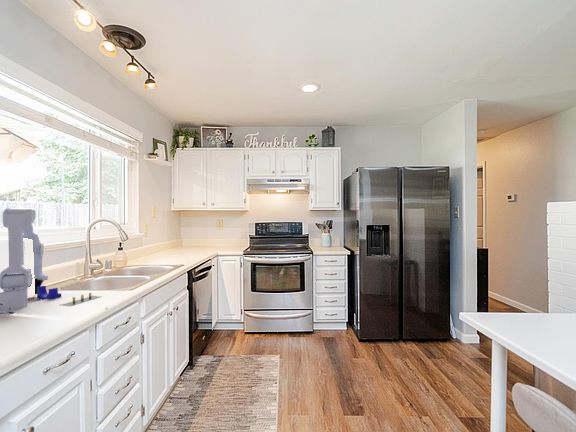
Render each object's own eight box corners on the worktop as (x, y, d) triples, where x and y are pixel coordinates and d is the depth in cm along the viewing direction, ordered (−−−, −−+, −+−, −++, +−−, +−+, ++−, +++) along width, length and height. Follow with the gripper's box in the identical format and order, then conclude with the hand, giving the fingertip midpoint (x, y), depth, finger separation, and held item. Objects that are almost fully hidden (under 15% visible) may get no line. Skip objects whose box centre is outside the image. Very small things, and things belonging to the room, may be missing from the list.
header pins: (73, 303, 136) (73, 297, 136) (72, 303, 136) (72, 297, 136) (91, 298, 144) (91, 292, 144) (90, 298, 144) (90, 292, 144)
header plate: (70, 308, 131) (70, 305, 131) (58, 307, 133) (58, 304, 133) (102, 299, 147) (102, 296, 147) (91, 298, 149) (91, 295, 149)
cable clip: (61, 299, 147) (61, 287, 147) (50, 302, 143) (50, 289, 143) (47, 297, 153) (47, 285, 153) (37, 299, 149) (36, 286, 149)
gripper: (53, 266, 154) (54, 293, 154) (32, 265, 158) (33, 291, 158) (39, 268, 147) (39, 296, 147) (17, 267, 151) (17, 294, 151)
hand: (35, 294), depth 152 cm, fingers closed
